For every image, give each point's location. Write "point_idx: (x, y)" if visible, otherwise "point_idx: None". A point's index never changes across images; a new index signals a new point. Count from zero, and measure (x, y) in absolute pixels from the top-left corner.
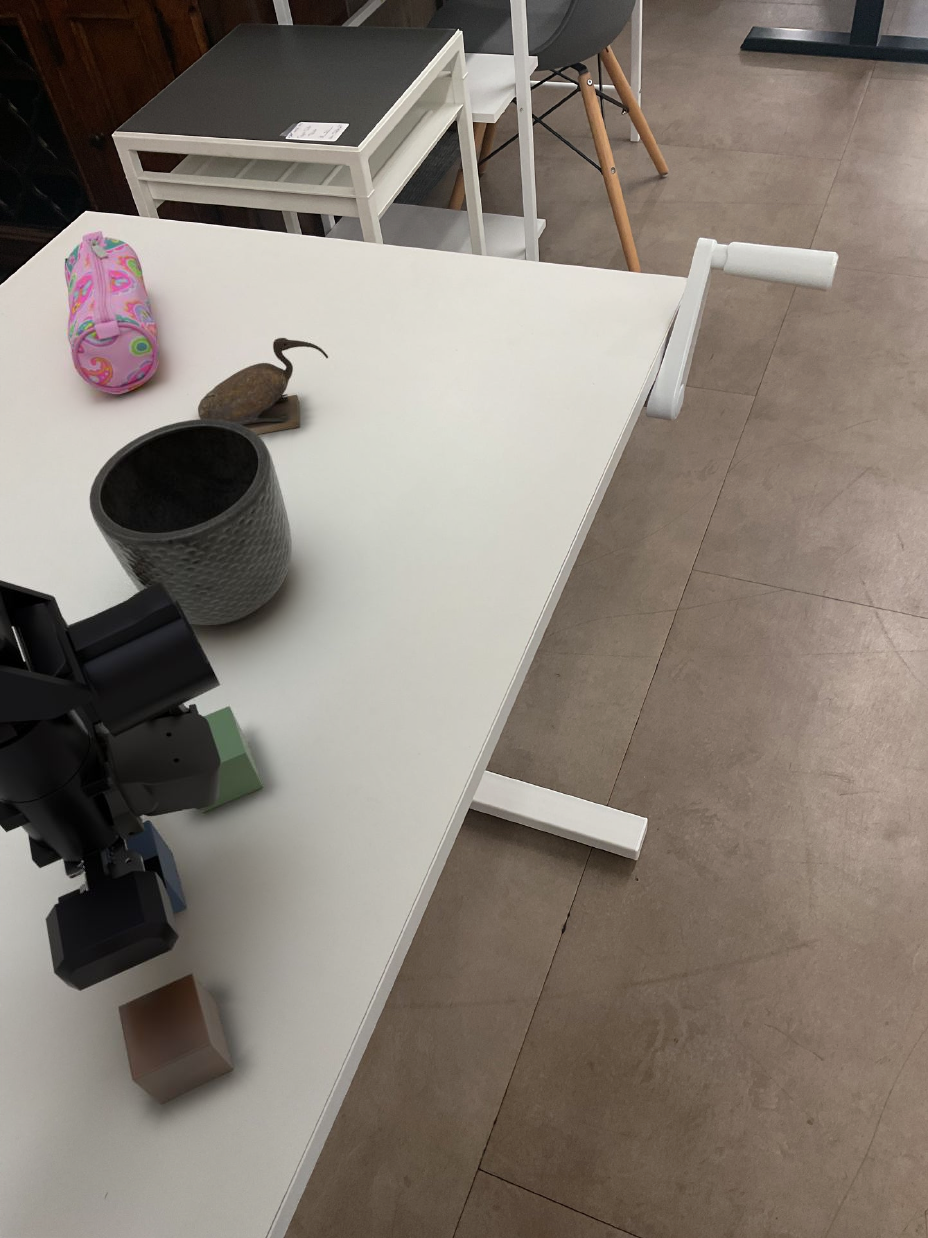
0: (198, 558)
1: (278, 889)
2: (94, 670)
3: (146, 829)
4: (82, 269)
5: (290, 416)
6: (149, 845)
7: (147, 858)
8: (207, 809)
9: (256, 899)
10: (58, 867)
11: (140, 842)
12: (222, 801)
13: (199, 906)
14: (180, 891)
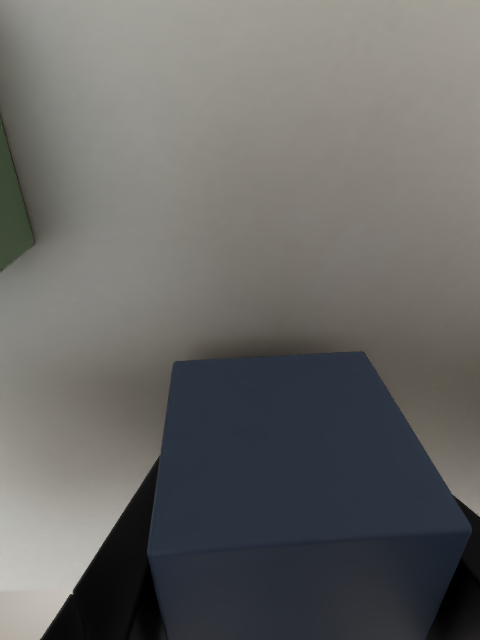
0: None
1: (426, 65)
2: None
3: (198, 566)
4: None
5: None
6: (289, 562)
7: (347, 569)
8: (28, 230)
9: (412, 152)
10: (98, 535)
11: (250, 580)
12: (8, 173)
13: (335, 308)
14: (336, 372)
